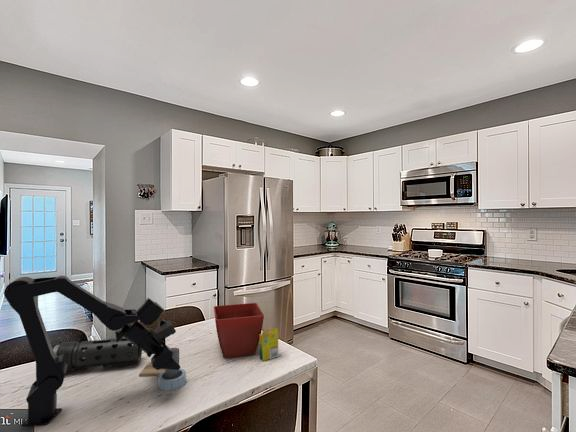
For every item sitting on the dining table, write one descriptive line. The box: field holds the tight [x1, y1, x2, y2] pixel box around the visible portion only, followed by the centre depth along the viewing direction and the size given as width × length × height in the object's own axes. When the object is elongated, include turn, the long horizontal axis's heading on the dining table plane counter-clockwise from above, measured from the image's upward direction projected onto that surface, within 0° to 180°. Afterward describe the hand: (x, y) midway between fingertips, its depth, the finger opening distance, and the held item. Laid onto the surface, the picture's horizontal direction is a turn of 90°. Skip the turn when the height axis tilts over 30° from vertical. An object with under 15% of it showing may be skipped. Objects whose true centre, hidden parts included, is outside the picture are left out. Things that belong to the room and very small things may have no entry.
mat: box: [138, 361, 165, 377], centre depth 111 cm, size 9×9×1 cm
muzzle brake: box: [52, 337, 143, 372], centre depth 113 cm, size 10×28×10 cm, turn 105°
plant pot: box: [213, 302, 265, 359], centre depth 128 cm, size 19×19×17 cm
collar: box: [157, 368, 187, 392], centre depth 102 cm, size 8×8×3 cm
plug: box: [165, 347, 180, 380], centre depth 102 cm, size 4×4×11 cm
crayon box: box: [258, 327, 279, 362], centre depth 121 cm, size 7×3×12 cm, turn 122°
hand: (176, 362), depth 103 cm, fingers open, 9 cm apart
